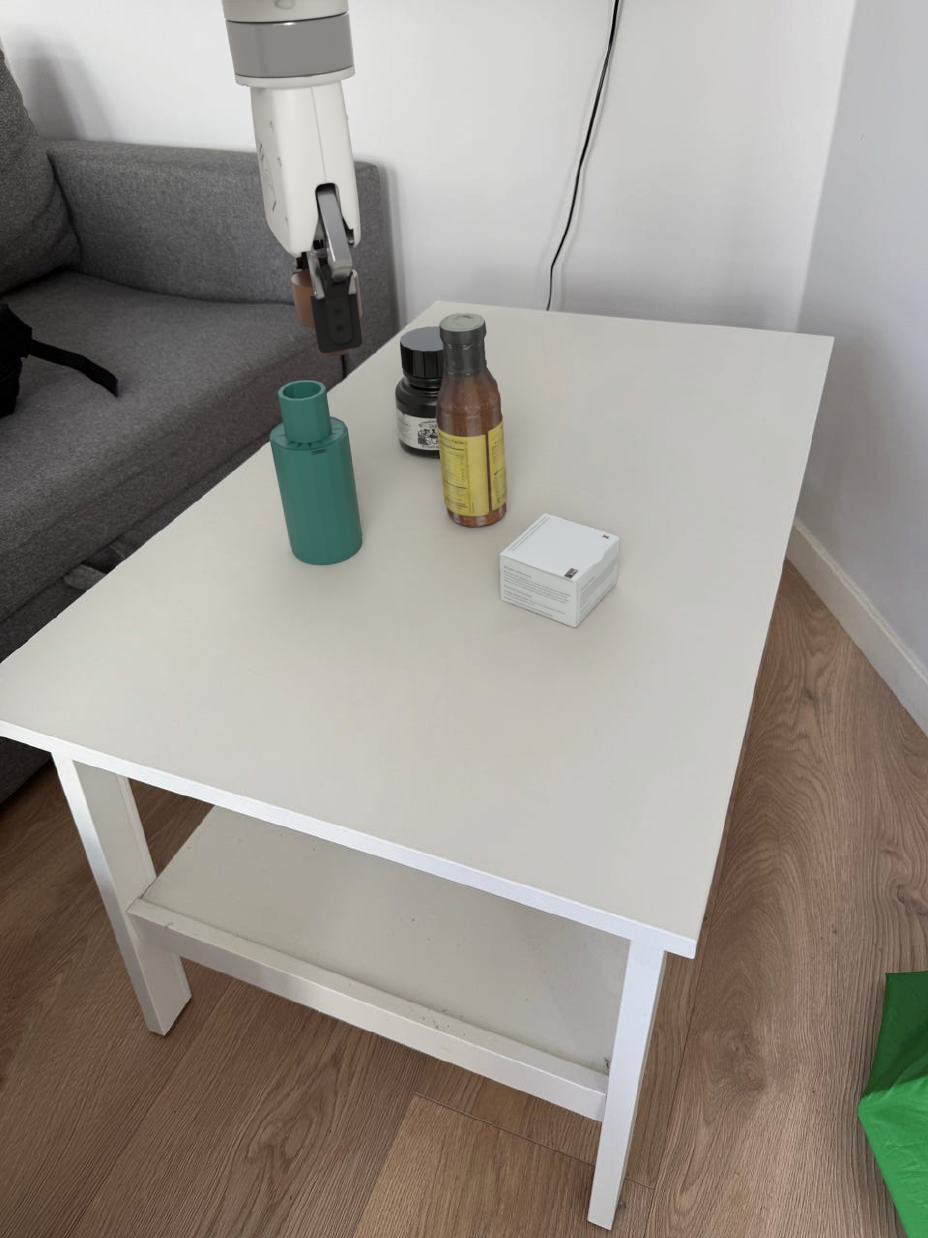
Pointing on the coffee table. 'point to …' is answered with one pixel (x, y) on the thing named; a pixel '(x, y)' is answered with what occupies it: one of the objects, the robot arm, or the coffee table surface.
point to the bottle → (315, 476)
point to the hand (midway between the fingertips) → (330, 332)
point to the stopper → (302, 302)
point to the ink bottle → (419, 390)
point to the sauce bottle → (470, 426)
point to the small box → (559, 569)
